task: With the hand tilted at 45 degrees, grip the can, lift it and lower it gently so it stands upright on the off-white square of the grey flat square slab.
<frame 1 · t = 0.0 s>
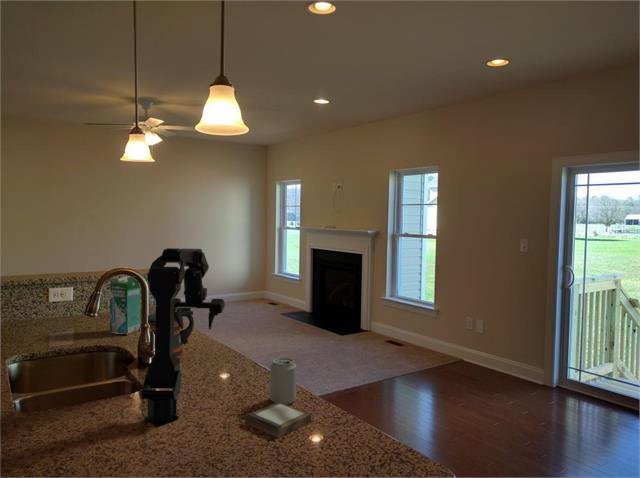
hand: (196, 328, 155), 15 cm above the countertop, tool pointing down, fingers open, 9 cm apart
milk carton: (125, 332, 209), on the countertop
grey flat square slab: (278, 422, 121), on the countertop
beer stein: (167, 358, 173), on the countertop
can: (283, 401, 135), on the countertop
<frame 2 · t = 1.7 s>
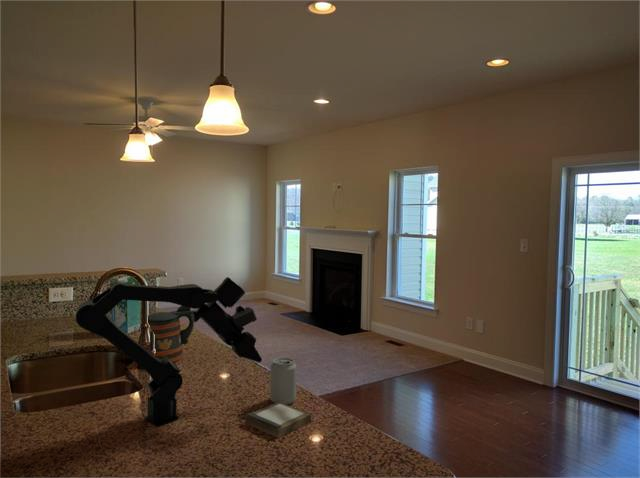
hand: (255, 356, 132), 13 cm above the countertop, tool tilted 45°, fingers open, 9 cm apart
nothing on the countertop moved.
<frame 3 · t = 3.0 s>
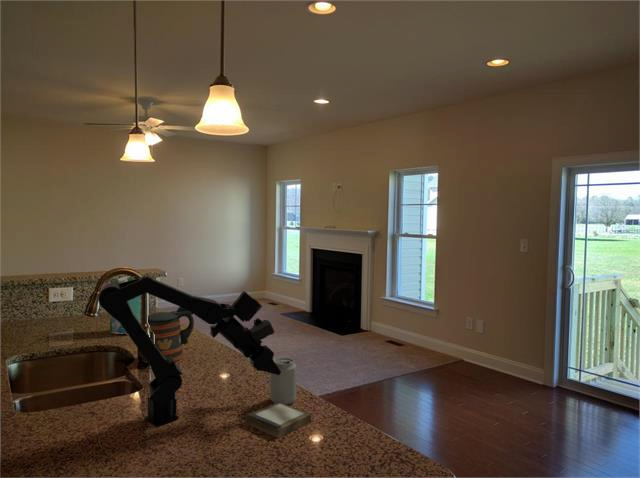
hand: (274, 368, 133), 10 cm above the countertop, tool tilted 45°, fingers open, 9 cm apart
nothing on the countertop moved.
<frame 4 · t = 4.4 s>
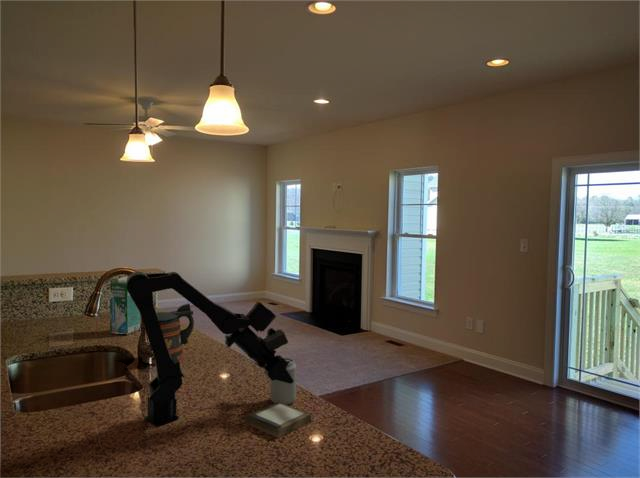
hand: (287, 377, 135), 7 cm above the countertop, tool tilted 45°, fingers closed on can, 7 cm apart
can: (283, 401, 135), on the countertop, touching gripper
everything else where it was.
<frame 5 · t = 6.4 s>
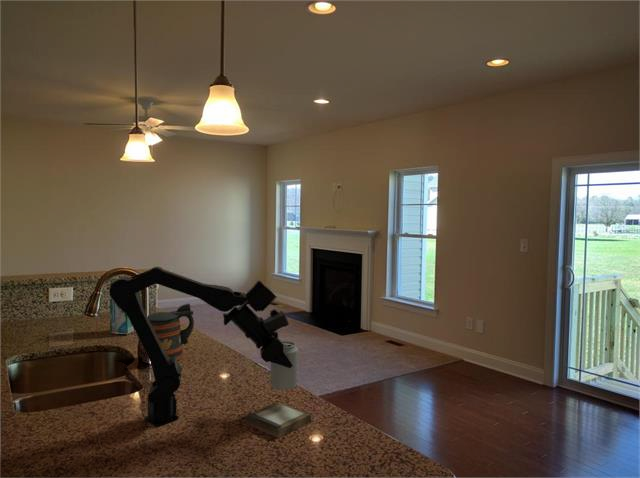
hand: (289, 362, 129), 13 cm above the countertop, tool tilted 45°, fingers closed on can, 7 cm apart
can: (283, 386, 129), point 6 cm above the countertop, touching gripper
everything else where it was.
when the fingers open (10 cm above the countertop, at t = 8.4 s): can stays where it is, resting on grey flat square slab.
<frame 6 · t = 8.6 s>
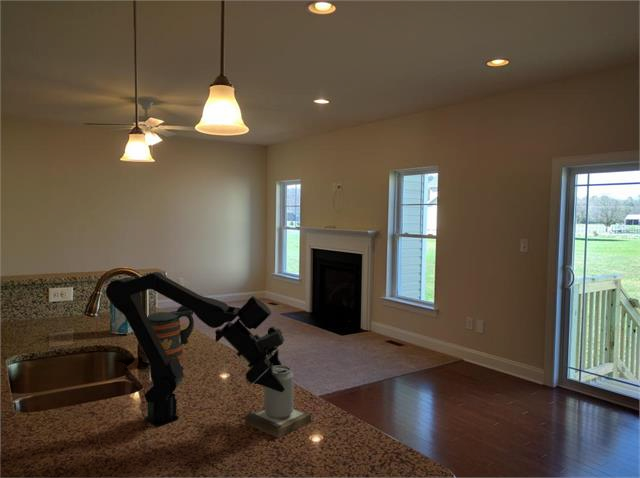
hand: (285, 384, 120), 10 cm above the countertop, tool tilted 45°, fingers open, 9 cm apart
can: (278, 414, 121), point 2 cm above the countertop, touching grey flat square slab
everything else where it was.
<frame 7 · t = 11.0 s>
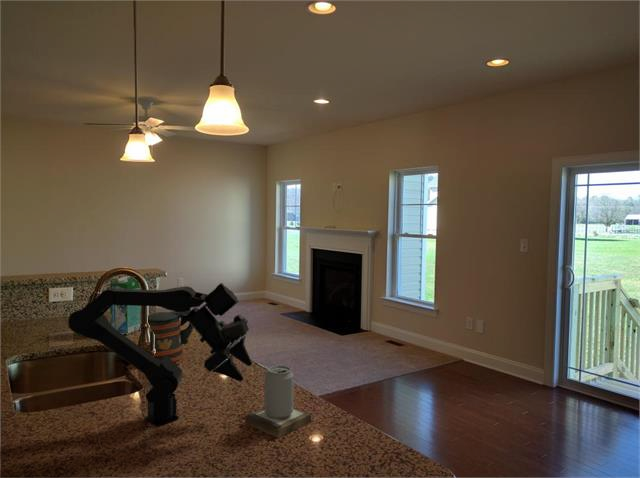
hand: (246, 372, 122), 12 cm above the countertop, tool tilted 40°, fingers open, 9 cm apart
nothing on the countertop moved.
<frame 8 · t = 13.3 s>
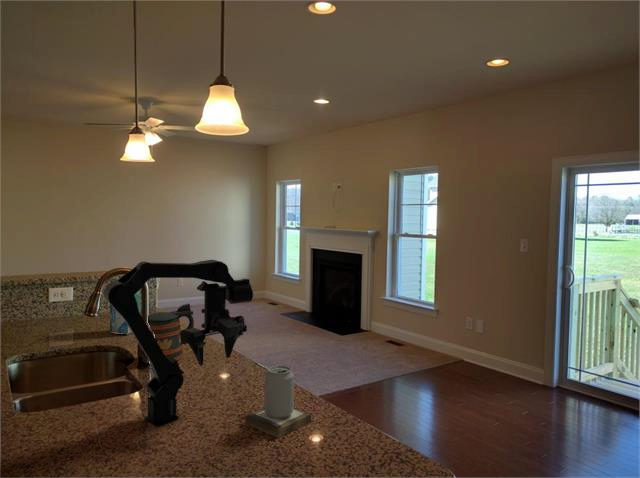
hand: (214, 361, 129), 13 cm above the countertop, tool pointing down, fingers open, 9 cm apart
nothing on the countertop moved.
at the end: can inside the target area on the grey flat square slab (0.3 cm from its centre), point 2.0 cm above the grey flat square slab's base; can tilted 0°; the gripper is holding nothing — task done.
